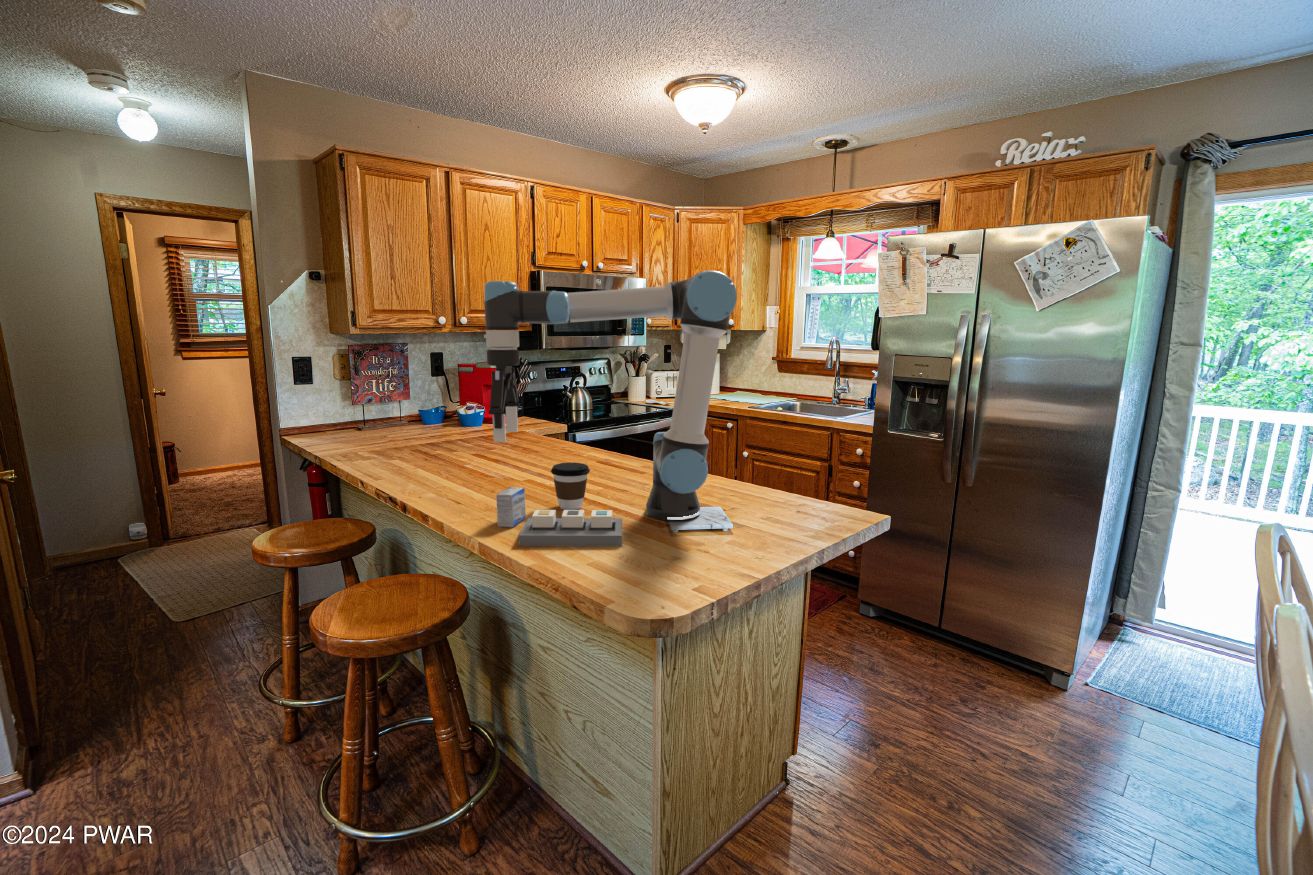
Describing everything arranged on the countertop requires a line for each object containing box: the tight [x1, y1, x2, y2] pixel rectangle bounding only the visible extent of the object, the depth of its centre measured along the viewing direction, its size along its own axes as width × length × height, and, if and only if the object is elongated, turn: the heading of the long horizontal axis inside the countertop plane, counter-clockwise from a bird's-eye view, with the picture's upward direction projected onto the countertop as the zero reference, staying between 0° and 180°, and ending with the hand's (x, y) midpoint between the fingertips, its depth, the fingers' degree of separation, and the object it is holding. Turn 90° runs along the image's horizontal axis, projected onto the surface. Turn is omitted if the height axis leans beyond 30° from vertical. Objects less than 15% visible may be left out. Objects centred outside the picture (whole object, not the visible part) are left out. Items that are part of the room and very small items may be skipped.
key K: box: [561, 509, 585, 528], centre depth 145 cm, size 5×5×3 cm
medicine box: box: [496, 486, 526, 529], centre depth 154 cm, size 8×4×9 cm, turn 168°
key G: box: [531, 509, 557, 527], centre depth 145 cm, size 5×5×3 cm
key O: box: [590, 509, 613, 528], centre depth 145 cm, size 5×5×3 cm
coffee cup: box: [550, 462, 591, 511], centre depth 169 cm, size 11×11×12 cm
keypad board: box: [518, 517, 623, 547], centre depth 145 cm, size 24×13×3 cm, turn 93°
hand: (506, 436), depth 144 cm, fingers open, 13 cm apart
